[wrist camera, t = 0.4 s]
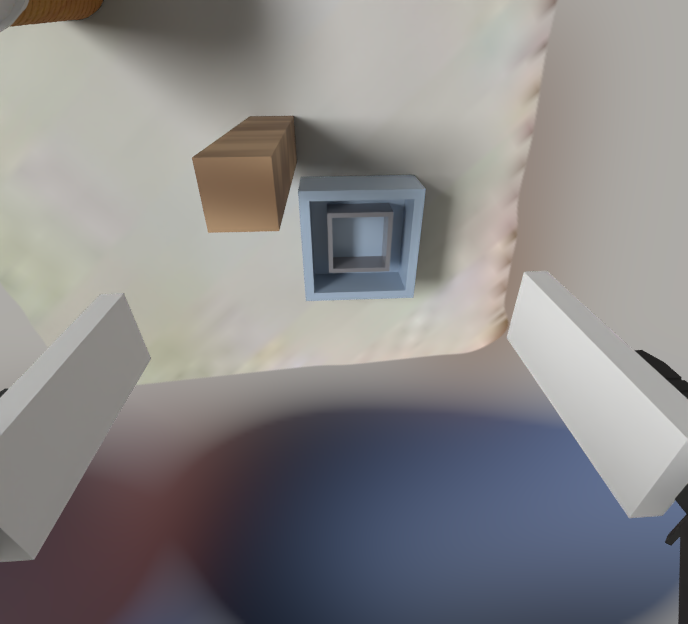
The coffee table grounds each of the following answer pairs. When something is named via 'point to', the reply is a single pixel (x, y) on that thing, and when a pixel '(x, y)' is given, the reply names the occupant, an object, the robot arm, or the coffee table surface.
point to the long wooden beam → (248, 175)
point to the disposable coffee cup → (44, 11)
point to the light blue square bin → (360, 235)
